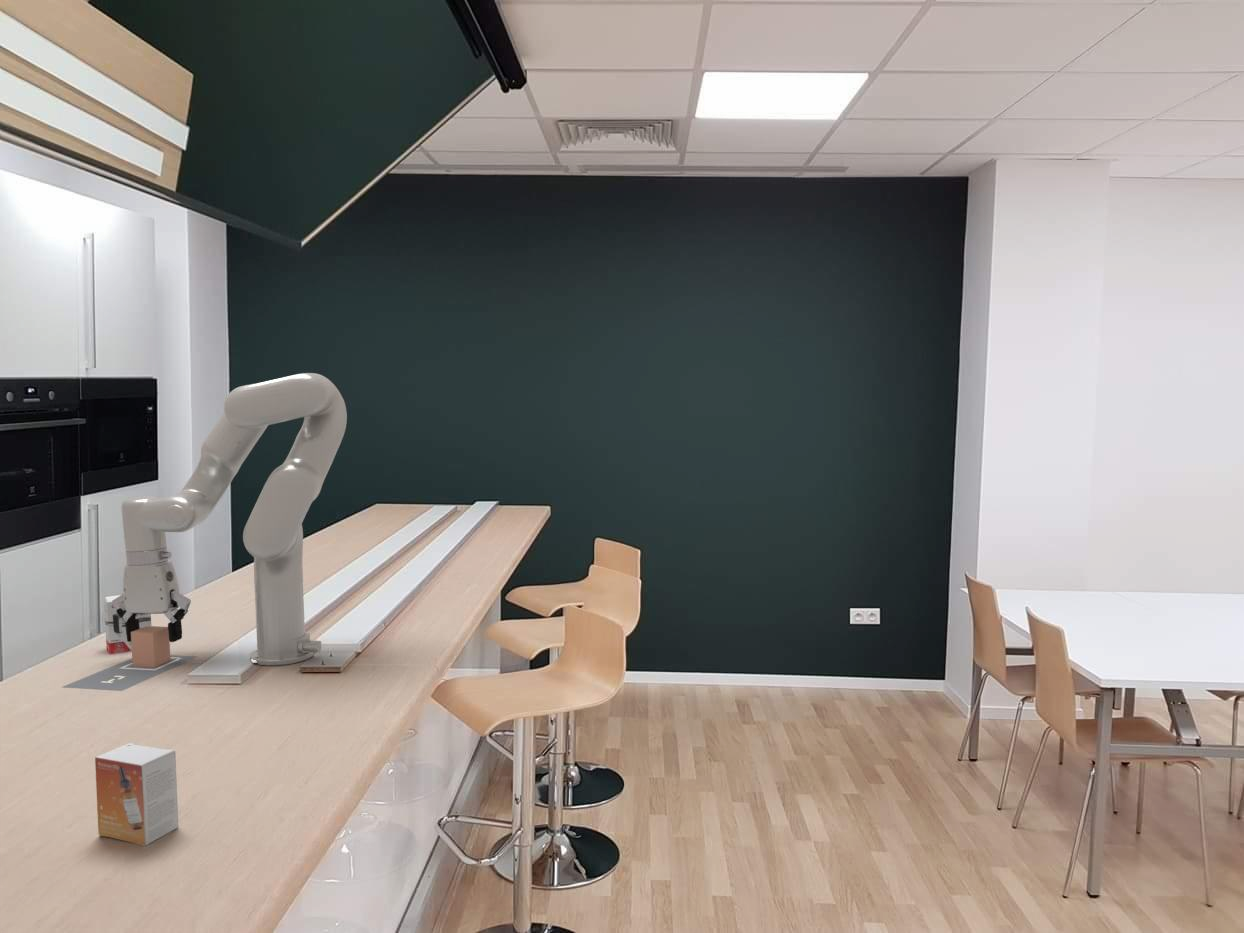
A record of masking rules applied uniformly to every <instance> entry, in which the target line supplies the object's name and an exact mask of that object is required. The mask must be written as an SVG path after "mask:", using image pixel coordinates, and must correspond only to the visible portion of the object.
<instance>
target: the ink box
mask: <svg viewBox="0 0 1244 933" xmlns="http://www.w3.org/2000/svg"><path fill="white" fill-rule="evenodd" d="M121 595H122V594H118V595H112V596H106V597H104V601H103V602H104V619H105V620H104V623H105V642H106V651H107V652H108V654H109V655H115V654H120V653H121V654H123V653H128V652H132V645H131V642H128V641H127V635H126V625H125V623H124V622H123V621H122V618H121V617H120V616H119V615H118V614H117V612H116V611H117V610H116V609H115V607H114V606H113V604H112V601H113V600H114V599H116V598H117V597H119V596H121ZM123 605H124V602H123ZM124 607H125V605H124ZM136 619H138V620H139V627H140V629H141V628H143V627H146V626H152V614H138V615H137V617H136Z"/></svg>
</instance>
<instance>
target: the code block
mask: <svg viewBox="0 0 1244 933" xmlns="http://www.w3.org/2000/svg"><path fill="white" fill-rule="evenodd" d="M131 645H132V651H131V657H132V662H133V666H141V667H156V666H159V665H161V664H163V663H165V662H168V661H170V660H171V659H170V655H171V642H170V641H169V632H168V626H158V625H157V626H156V625H155V626H153V625H151V626H146V627H143V628H141V629H138V630H135V631H133V632H131Z"/></svg>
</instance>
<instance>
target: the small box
mask: <svg viewBox="0 0 1244 933" xmlns="http://www.w3.org/2000/svg"><path fill="white" fill-rule="evenodd" d="M176 757H177V756H176V750H174V749H164V748H160V747H159V748H158V747H152V746H146V745H141V744H136V743H133V742H132V743H131V742H129V743H126V744H123V745H121V746H118V747H117V748H115V749H112V750H109V751H106V752H105V753H102V754H100V755H97V756H95V758H94V763H95V784H96V787H95V788H96V789H95V790H96V803H97V804H96V810H97V827H98V828H97V832H98V836H101V837H107V838H112V839H115V840H119V841H120V840H121V841H125V842H128V843H133V844H136V845H140V846H143V847H145V846H147V845H149V844H151V843H152V842H154V841H157V840H158V839H160V838H162V837H164V836H165V835H167V834H168V833H169V834H170V833H171V832H173V831H174V830H176V829H178V828H179V810H178V808H179V807H178V804H179V803H178V786H177V785H178V783H177V782H178V779H177V760H176Z"/></svg>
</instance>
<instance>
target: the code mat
mask: <svg viewBox="0 0 1244 933" xmlns="http://www.w3.org/2000/svg"><path fill="white" fill-rule="evenodd" d="M195 658H198V656H197V655H179V654H170V659H171V660H170V661H168V662H165V663H163V664H161V665H159V666H156V667H141V666H133V662H132V658H129V659H126V660H124V661H122V662H119V663H117V664H114V665H112V666H110V667H109V666H108V667H107V668H104V669H101V670H100V671H97V672H95V673H93V674H90V675H88V676H85V677H83V678H80V679H78V680H75V681H72V682H70V683H68V684H65V685H63V686H62V688H64V689H65V688H69V689H80V690H83V689H84V690H101V691H115V692H123V691H125V690H128V689H129V688H132V687H134V686H137V685H139V684H140V683H143V682H145V681H148V680H150V679H151V678H154V677H155V676H159V675H160V674H162V673H165V672H167V671H169V670H171V669H173V668H176V667H178V666H180V665H182V664H185V663H187V662H189V661H191V660H193V659H195Z"/></svg>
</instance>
